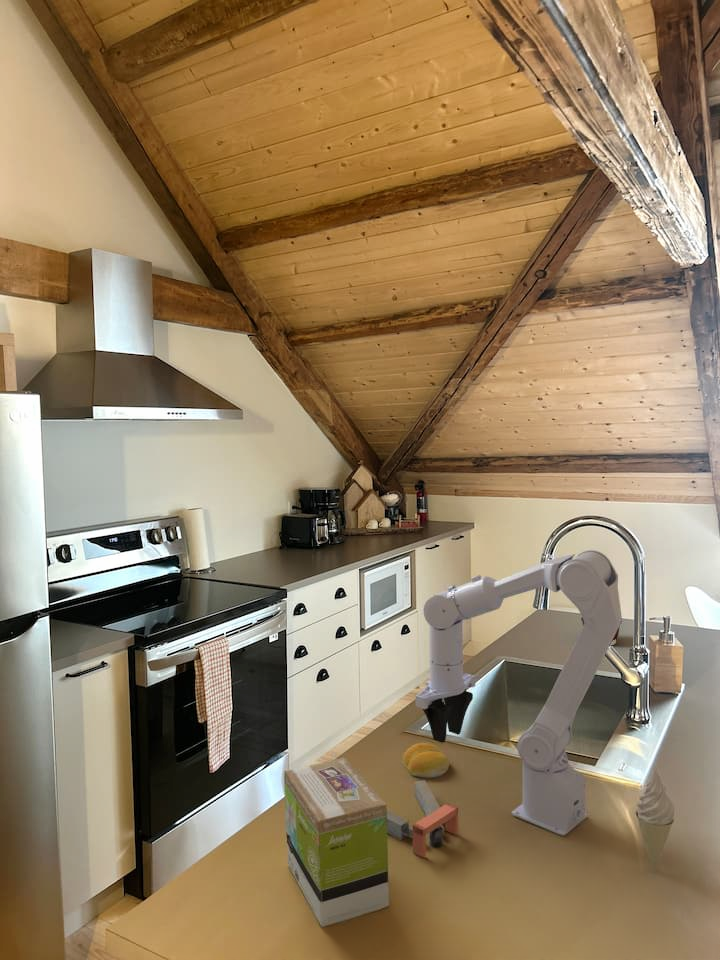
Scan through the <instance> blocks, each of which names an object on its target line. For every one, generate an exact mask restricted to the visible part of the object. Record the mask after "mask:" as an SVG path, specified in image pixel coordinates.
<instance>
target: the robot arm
mask: <svg viewBox="0 0 720 960" xmlns="http://www.w3.org/2000/svg"><path fill="white" fill-rule="evenodd" d="M575 556H576V554H575V553H574V554H567V555H563V556H561V557H556V558H552V559H548V560H546V561H543V562H541V563H538V564H536V565H533V566H531V567H528V568H527V569H526V568H525V569H524V570H521V571H518V572H516V573H513V574H511V575H509V576H506V577H503V578H501V579H495V578H493V577H490V576H488V575H486V576H483V577H482V576H481V574H479V575H475V576H473V577H471V578H470V581H469V582H467V583H463V584H461V585H459V586H456V584H454V585H451V586H449V587H448V588H447V590H444V591H441V592H440V593H437V594H434V595H433V596H431V597H429V599H427V600H426V601H425V603H424V606H423V616H424V619H425V621H426V623H427V624H428V625H429V626H428V630H429V634H428V635H429V639H428V640H429V679H428V680H426V681H425V688H424V689H423V690H422V691H421V692H419V693H418V694H416V695H415V707H417V708H420V709H422V711H423V713H424V715H425V716H426V719H427V721H428V724H429V727H430V731H431V735H432V737H433V738H432V739H433V741H436V742H438V743H441V744H444V743H446V739H447V729H448V732H449V733H452V734H455V735H460V734H461V732H462V728H463V723H464V720H465V717H466V713H467V711H468V708H469V706H470V705H471V703H472V701H473V699H474V693H472V692H470V691H467V688H474V687H476V675H473V674H471V673H464V671H463V670H464V663H463V662H464V658H463V657H464V653H463V651H464V649H463V647H464V646H463V643H464V642H463V641H464V640H463V636H464V635H463V622H464V621H468V620H471V619H472V618H476V617H478V616H482V615H484V614H488V613H491V612H493V611H496V610H499V609H500V608H501V607H502V605H503V601H504V600H505V599H507V598H510V597H513V596H516V595H520V594H523V593H527V592H529V591H533V590H536V589H540V588H546V589H548V590H550V591H552V592H553V593H558V592H559V591H561V592H562V593H563V594H564V595H565V597H566V598H567V599H568V600H569V601H570V602H571V603H572V604H573V605H574V606H575V607H576V608H577V610H578V612H579V613H580V615H581V618H583V620H584V625H583V624H582V628H581V630H580V631H579V633H578V636H577V637H576V640H575V642H574V644H573V647H572V648H571V650H570V653H569V655H568V656H567V659H566V661H565V662H564V664H563V667H562V669H561V671H560V672H559V674H558V676H557V679H556V681H555V683H554V685H553V688H552V689H551V692H550V693H549V696H547V697H548V698H547V699H546V702H545V704H544V706H543V707H542V709H541V711H540V712H539V714H538V715H537V716H536V719H535V720H534V722H533V723H532V725H531V726H530V727H529V728H527V730H526V731H525V732H523V733H522V734H521V735H520V736H519V739H518V741H517V746H516V747H517V753H518V756H519V757H520V760H521V761H522V776H521V777H522V803H521V804H520V805H518V806H517V807H516V808H515V809H513V810H512V811H511V815H512V816H514V817H516V818H519V819H521V820H523V821H525V822H526V821H527V822H528V823H531V824H533V825H536V826H538V827H541V828H542V829H545V830H548V831H550V832H552V833H555V834H557V835H560V836H563V837H564V836H566V835H567V834H569V832H570V831H572V830H573V829H574V828H576V826H578V825H579V824H580V823H581V822H582V821H584V820H585V819H586V818H588V813H586V781H585V777H584V774H583V773H582V772H580V771H578V770H576V769H575V768H573V767H572V766H571V764H570V763H569V757H568V755H567V752H566V747H568V746H569V744H570V743H571V740H572V735H573V734H572V726H573V723H574V721H575V719H576V713H577V711H578V709H579V707H580V705H581V703H582V702H583V699H584V697H585V695H586V693H587V691H588V690H589V687H590V686H591V684H592V682H593V679H594V678H595V675H596V674H597V672H598V670H599V667H600V666H601V664H602V662H603V660H604V657H605V655H606V654H607V652H608V649H609V648H610V647H611V646H610V644H611V642H612V640H613V638H614V636H615V634H616V632H617V630H618V628H619V629H620V627H619V626H621V624H622V623H621V621H623V620H622V619H623V617H622V609H621V602H620V594H619V586H618V585H619V575H618V573H617V571H616V569H615V568H614V565H613V564H612V562H611V560H610V559H609V557H607V556H606V555H605V554H604V553H603V552H600V551H597V550H593V549H592V550H591V549H590V550H585V551H581V552H580V553H579V554H577V556H576V557H575Z"/></svg>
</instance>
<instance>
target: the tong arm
mask: <svg viewBox="0 0 720 960" xmlns="http://www.w3.org/2000/svg"><path fill="white" fill-rule="evenodd" d="M414 795H415V798H416V799H417V801H418V803H419V804H420V807H421V808H422V811H423V812H424V814H425V817H426V816H428V815H429V814H431V813H433V812H434V811H436V810H437V809H439V808H440V807H441V806H440V804H439V802H438V801H437V799H436V797H435V796H434V794H433V792H432V791H431V788H430V787H429V785H428V784H427V782H426V780H424V779H423V780H416V781H414ZM443 825H444V823H443V824H442V825H440V826H441V827H442V828H443V835H444V833H445V829H444V826H443Z"/></svg>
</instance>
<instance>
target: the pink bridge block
mask: <svg viewBox="0 0 720 960" xmlns="http://www.w3.org/2000/svg"><path fill="white" fill-rule="evenodd" d="M442 824H443V825H444V824H445V831H447V832H448V833H451V834H453V835H456V836H457V835H458V834H459V807H458V806H456V805H453V804H451V803H449V802H447V803H445V804H444V805H443V806H440V808H439V809H437V810H436V811H434V812H433V813H431V814H429V815H428V816H426V815H425V817H423V818H422V819H420V820H418V821H416V822H415V823H413V824H412V827H413V837H412V853H414V854H416V855H418V856H419V857H422V858H425V857H426V856H427V837H426V836H427V835H428V834H429V832H431V831H432V830H434V829H435V828H437V827H439V826H440V825H442Z"/></svg>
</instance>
